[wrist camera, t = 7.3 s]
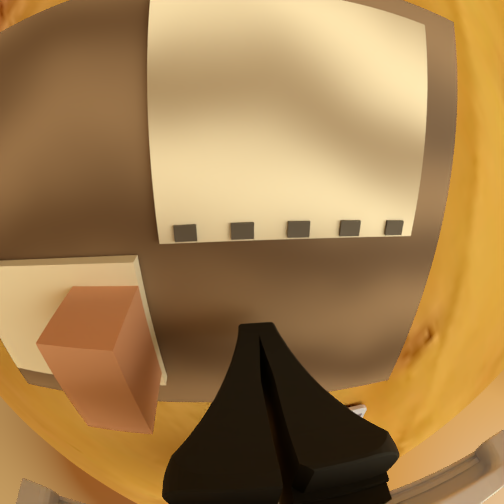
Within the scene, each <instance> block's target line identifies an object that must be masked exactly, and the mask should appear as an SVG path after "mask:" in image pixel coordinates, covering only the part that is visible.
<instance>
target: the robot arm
mask: <svg viewBox="0 0 504 504" xmlns="http://www.w3.org/2000/svg"><path fill="white" fill-rule="evenodd" d="M365 412H366V406H365V405H357V406H352V407H346V406H345V405H343V404H342V403H341V402H339V401H338V400H337V399H335V398H334V397H333V396H332V395H331V394H330V393H329V392H327V391H326V390H325V389H324V388H323V387H322V386H321V385H320V384H319V383H318V382H317V381H316V380H315V379H314V378H313V377H312V376H311V375H310V374H309V373H308V371H307V370H306V369H305V368H304V367H303V366H302V365H301V363H300V362H299V361H298V360H297V358H296V357H295V356H294V354H293V353H292V352H291V350H290V349H289V347H288V346H287V345H286V343H285V341H284V340H283V338H282V337H281V335H280V334H279V332H278V330H277V328H276V326H275V324H274V323H273V322H262V323H246V324H240V325H239V326H238V337H237V342H236V346H235V350H234V353H233V357H232V360H231V363H230V366H229V368H228V371H227V373H226V376H225V378H224V380H223V383H222V385H221V387H220V389H219V391H218V393H217V395H216V397H215V398H214V400H213V402H212V404H211V405H210V407H209V409H208V410H207V412H206V414H205V415H204V417H203V418H202V420H201V421H200V422H199V424H198V425H197V426H196V428H195V429H194V430H193V432H192V433H191V434H190V436H189V437H188V438H187V439H186V441H185V442H184V443H183V444H182V445H181V446H180V447H179V448H178V450H177V451H176V452H175V453H174V454H173V455H172V456H171V459H170V461H169V463H168V466H167V469H166V472H165V475H164V480H163V490H162V497H163V499H164V500H165V501H166V502H168V503H169V504H481V503H483V502H484V501H486V500H487V499H488V498H489V497H491V496H492V495H493V494H495V493H496V492H497V491H498V490H500V489H501V488H502V487H503V486H504V430H501V431H500V432H498V433H497V434H495V435H494V436H492V437H491V438H489V439H488V440H486V441H485V442H484V443H483V444H481V445H480V446H479V447H478V448H477V449H476V451H474V452H473V453H471V454H469V455H468V456H466V457H464V458H462V459H460V460H459V461H457V462H455V463H453V464H451V465H449V466H447V467H445V468H443V469H441V470H439V471H437V472H435V473H433V474H431V475H429V476H426V477H424V478H422V479H420V480H417V481H415V482H412V483H410V484H407V485H405V486H403V487H400V488H397V489H395V490H392V491H389V489H388V486H387V483H386V482H388V481H389V478H388V475H387V471H388V470H389V468H391V467H392V465H393V464H394V463H395V462H396V461H397V459H398V458H399V452H398V449H397V447H396V445H395V443H394V441H393V439H392V438H391V436H390V434H389V433H388V431H386V430H384V429H382V428H380V427H378V426H376V425H374V424H372V423H370V422H369V421H367V420H365V419H364V418H362V417H363V416H364V414H365ZM16 504H85V503H81V502H78V501H74V500H71V499H68V498H65V497H62V496H59V495H58V494H57V493H56V492H54V491H52V490H51V489H48V488H47V487H45V486H42V485H40V484H37V483H34V482H32V481H30V480H27V479H25V478H23V479H22V482H21V486H20V490H19V494H18V498H17V502H16Z"/></svg>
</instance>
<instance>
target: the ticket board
mask: <svg viewBox="0 0 504 504" xmlns="http://www.w3.org/2000/svg"><path fill="white" fill-rule="evenodd" d="M456 117H457V57H456V43H455V32H454V23H453V22H452V21H450V20H448V19H446V18H444V17H442V16H440V15H438V14H435V13H433V12H431V11H428V10H426V9H424V8H421V7H419V6H416V5H414V4H411V3H408V2H406V1H403V0H69V1H66V2H64V3H61V4H59V5H56V6H54V7H51V8H49V9H46V10H44V11H42V12H40V13H37V14H35V15H33V16H31V17H29V18H27V19H25V20H23V21H21V22H19V23H17V24H15V25H13V26H11V27H9V28H7V29H5V30H4V31H2V32H0V261H1V260H25V259H49V258H74V257H99V256H124V255H138V260H139V266H140V271H141V276H142V281H143V285H144V290H145V294H146V299H147V303H148V308H149V312H150V316H151V320H152V324H153V328H154V332H155V336H156V339H157V343H158V347H159V350H160V354H161V357H162V361H163V364H164V368H165V371H166V374H167V382H166V385H160V387H159V394H158V400H157V401H166V402H213V400H214V398H215V397H216V395H217V393H218V391H219V389H220V387H221V385H222V383H223V380H224V378H225V376H226V373H227V371H228V368H229V366H230V363H231V360H232V357H233V353H234V350H235V346H236V342H237V337H238V326H239V325H240V324H246V323H262V322H273V323H274V324H275V326H276V328H277V330H278V332H279V334H280V335H281V337H282V338H283V340H284V341H285V343H286V345H287V346H288V347H289V349H290V350H291V352H292V353H293V354H294V356H295V357H296V358H297V360H298V361H299V362H300V363H301V365H302V366H303V367H304V368H305V369H306V370H307V371H308V373H309V374H310V375H311V376H312V377H313V378H314V379H315V380H316V381H317V382H318V383H319V384H320V385H321V386H322V387H323V388H324V389H325V390H326V391H327V392H329V391H335V390H341V389H346V388H352V387H357V386H362V385H367V384H371V383H376V382H380V381H385V380H388V379H389V377H390V375H391V373H392V370H393V368H394V366H395V364H396V362H397V359H398V357H399V355H400V352H401V350H402V348H403V345H404V343H405V340H406V338H407V335H408V333H409V330H410V328H411V325H412V323H413V320H414V317H415V315H416V312H417V309H418V306H419V303H420V300H421V297H422V294H423V291H424V288H425V285H426V282H427V279H428V275H429V272H430V269H431V265H432V261H433V258H434V254H435V250H436V246H437V242H438V238H439V234H440V230H441V225H442V221H443V216H444V211H445V206H446V201H447V195H448V190H449V183H450V177H451V170H452V162H453V154H454V144H455V132H456ZM18 369H19V370H20V372H21V373H22V375H23V376H24V378H25V379H26V381H27V382H28V383H29V384H33V385H37V386H42V387H47V388H52V389H57V390H62V391H63V389H62V388H61V386H60V385H59V383H58V381H57V380H56V378H55V377H54V375H53V374H47V373H42V372H36V371H31V370H27V369H22V368H18Z"/></svg>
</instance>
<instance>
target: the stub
mask: <svg viewBox="0 0 504 504" xmlns="http://www.w3.org/2000/svg"><path fill="white" fill-rule="evenodd" d="M0 338H1V340H2V342H3V344H4V346H5V347H6V349H7V351H8V353H9V354H10V356H11V358H12V359H13V361H14V363H15V364H16V366H17V367H18V368H22V369H27V370H31V371H36V372H42V373H47V374H53V375H54V377H55V378H56V380H57V381H58V383H59V385H60V386H61V388H62V389H63V391H64V392H65V394H66V395H67V397H68V398H69V400H70V401H71V403H72V404H73V406H74V407H75V408H76V410H77V411H78V413H79V414H80V415H81V417H82V418H83V419H84V421H85V422H86V423H87V425H88V426H91V427H97V428H103V429H110V430H117V431H125V432H134V433H144V434H153V428H154V421H155V414H156V407H157V400H158V394H159V387H160V385H166V382H167V374H166V371H165V368H164V364H163V361H162V357H161V354H160V350H159V347H158V343H157V339H156V336H155V332H154V328H153V324H152V320H151V316H150V312H149V308H148V303H147V299H146V294H145V290H144V285H143V281H142V276H141V271H140V266H139V260H138V255H124V256H99V257H74V258H49V259H25V260H1V261H0Z"/></svg>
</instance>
